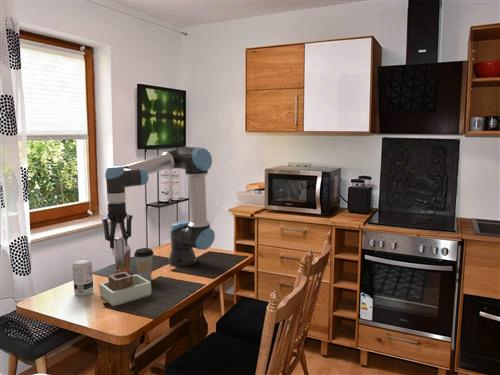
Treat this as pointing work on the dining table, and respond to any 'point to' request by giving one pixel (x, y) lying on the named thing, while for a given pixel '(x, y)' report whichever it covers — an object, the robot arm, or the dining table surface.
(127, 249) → the smoothie
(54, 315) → the dining table surface
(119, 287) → the socket block
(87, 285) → the supplement can
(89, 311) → the dining table surface
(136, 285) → the crate
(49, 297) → the dining table surface
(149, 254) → the coffee cup
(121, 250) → the steel peg
